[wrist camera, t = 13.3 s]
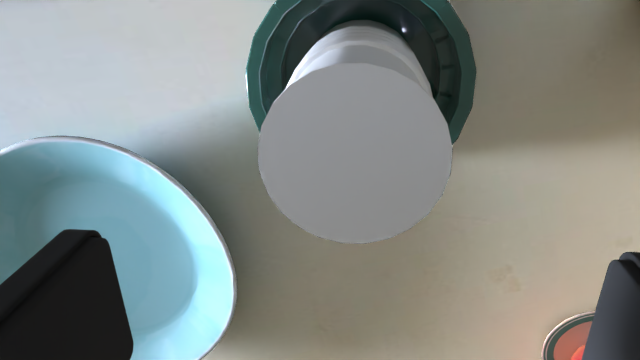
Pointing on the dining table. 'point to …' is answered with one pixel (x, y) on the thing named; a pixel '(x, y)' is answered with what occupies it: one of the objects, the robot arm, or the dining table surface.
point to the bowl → (376, 5)
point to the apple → (568, 338)
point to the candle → (356, 138)
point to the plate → (124, 237)
